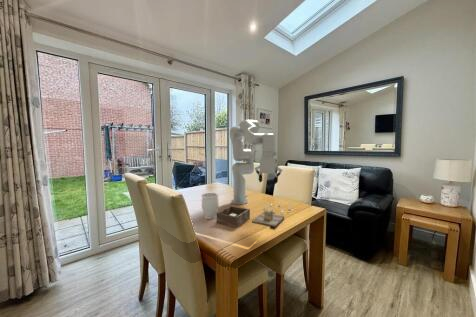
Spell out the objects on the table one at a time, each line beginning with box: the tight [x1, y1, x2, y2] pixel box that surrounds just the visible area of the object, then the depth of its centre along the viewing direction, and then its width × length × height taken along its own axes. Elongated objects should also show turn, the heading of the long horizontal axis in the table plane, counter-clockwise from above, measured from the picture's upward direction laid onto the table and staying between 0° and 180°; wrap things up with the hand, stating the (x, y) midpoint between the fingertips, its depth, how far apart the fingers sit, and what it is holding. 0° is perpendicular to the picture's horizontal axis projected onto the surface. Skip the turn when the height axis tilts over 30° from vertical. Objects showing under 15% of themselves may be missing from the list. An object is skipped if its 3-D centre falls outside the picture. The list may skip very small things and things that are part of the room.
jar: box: [201, 192, 219, 220], centre depth 137 cm, size 11×10×15 cm
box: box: [215, 205, 251, 229], centre depth 130 cm, size 16×14×7 cm
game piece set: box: [263, 201, 292, 215], centre depth 152 cm, size 19×20×4 cm
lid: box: [251, 208, 285, 228], centre depth 131 cm, size 17×15×7 cm
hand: (268, 182), depth 129 cm, fingers open, 9 cm apart
